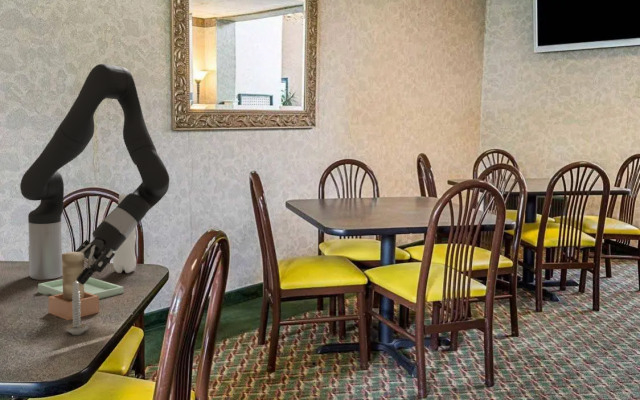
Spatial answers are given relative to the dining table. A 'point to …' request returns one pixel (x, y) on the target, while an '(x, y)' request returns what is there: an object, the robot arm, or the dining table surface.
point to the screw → (76, 313)
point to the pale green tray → (90, 286)
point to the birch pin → (72, 273)
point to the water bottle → (125, 251)
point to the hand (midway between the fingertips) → (72, 278)
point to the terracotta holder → (65, 308)
